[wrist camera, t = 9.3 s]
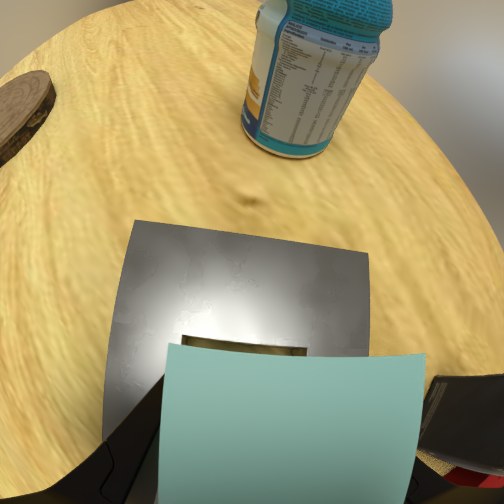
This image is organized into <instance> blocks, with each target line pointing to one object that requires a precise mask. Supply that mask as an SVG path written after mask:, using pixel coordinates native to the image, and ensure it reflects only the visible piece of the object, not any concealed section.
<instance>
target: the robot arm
mask: <svg viewBox="0 0 504 504" xmlns="http://www.w3.org/2000/svg"><path fill="white" fill-rule="evenodd" d="M164 376H165V374H163V375H162V377H161V378H160V379H159V380H158V381H157V382H156V383H155V385H154V386H153V387H152V388H151V389H150V390H149V391H148V392H147V394H146V395H145V396H144V397H143V398H142V399H141V400H140V401H139V403H138V404H137V405H136V406H135V407H134V408H133V409H132V410H131V411H130V413H129V414H128V415H127V416H126V417H125V418H124V419H123V420H122V422H121V423H120V424H119V425H118V426H117V427H116V428H115V429H114V430H113V431H112V433H111V434H110V435H109V436H108V437H107V438H106V441H105V440H104V441H103V442H102V443H101V445H100V446H99V447H98V448H97V449H96V450H95V451H94V452H93V453H92V454H91V455H90V456H89V457H88V458H87V459H86V460H84V461H83V462H82V463H81V464H80V465H79V466H77V467H76V468H75V469H73V470H72V471H71V472H70V473H68V474H67V475H66V476H64V477H63V478H62V479H61V480H59V481H58V482H57V483H55V484H54V485H52V486H51V487H49V488H47V489H45V490H42V491H39V492H35V493H31V494H26V495H21V496H16V497H11V498H4V499H0V504H154V502H155V498H156V494H157V490H158V473H159V443H160V425H161V410H162V398H163V387H164ZM403 504H504V486H502V487H500V488H485V487H469V486H459V485H456V484H453V483H451V482H449V481H447V480H446V479H445V478H443V477H442V476H441V475H439V474H438V473H437V472H435V471H434V470H433V469H431V468H430V467H429V466H427V465H426V464H425V463H424V462H422V461H421V460H420V459H419V458H418V457H417V456H416V455H415V460H414V465H413V470H412V474H411V478H410V482H409V486H408V490H407V493H406V497H405V500H404V503H403Z"/></svg>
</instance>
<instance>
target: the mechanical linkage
mask: <svg viewBox="0 0 504 504" xmlns="http://www.w3.org/2000/svg"><path fill="white" fill-rule="evenodd" d="M443 478H445V479H446V480H447V481H449V482H451V483H453V484H456V485H459V486H469V487H485V488H500V487H502V486H504V477H501V476H496V475H490V474H486V473H481V472H477V471H473V470H469V469H465V468H462V467H459V466H456V467H455V468H454V469H453V470H451V471H450V472H449V473H448V474H446V475H445V476H444V477H443Z"/></svg>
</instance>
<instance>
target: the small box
mask: <svg viewBox="0 0 504 504" xmlns="http://www.w3.org/2000/svg"><path fill="white" fill-rule="evenodd" d="M417 449H418V450H420V451H422V452H424V453H426V454H429V455H431V456H433V457H435V458H438V459H440V460H443V461H445V462H447V463H450V464H453V465H456V466H459V467H462V468H465V469H469V470H473V471H477V472H481V473H486V474H490V475H496V476H501V477H504V373H503V374H493V375H484V376H439V375H437V376H436V377H435V379H434V381H433V384H432V387H431V389H430V391H429V393H428V395H427V397H426V400H425V402H424V404H423V408H422V417H421V425H420V432H419V438H418V444H417Z"/></svg>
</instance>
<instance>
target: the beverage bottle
mask: <svg viewBox="0 0 504 504" xmlns="http://www.w3.org/2000/svg"><path fill="white" fill-rule="evenodd" d="M392 18H393V5H392V0H266V1H265V2H264V3H263V4H262V5H261V6H260V7H259V9H258V12H257V15H256V21H255V25H256V28H257V35H256V41H255V46H254V52H253V58H252V64H251V70H250V75H249V81H248V87H247V93H246V97H245V101H244V104H243V108H242V114H241V121H242V126H243V128H244V130H245V132H246V134H247V135H248V136H249V138H250V139H251V140H252V141H253V142H254V143H256V144H257V145H258V146H260V147H261V148H263V149H265V150H267V151H269V152H271V153H273V154H276V155H279V156H283V157H289V158H306V157H311V156H314V155H316V154H318V153H320V152H321V151H323V150H324V149H325V148H326V147H327V145H328V144H329V142H330V140H331V138H332V136H333V134H334V131H335V129H336V127H337V125H338V123H339V121H340V120H341V118H342V116H343V114H344V112H345V110H346V108H347V107H348V105H349V103H350V101H351V99H352V97H353V95H354V94H355V92H356V90H357V88H358V86H359V84H360V82H361V80H362V79H363V77H364V75H365V73H366V71H367V69H368V67H369V66H370V65H371V64H372V63H373V62H374V61H375V59H376V58H377V55H378V53H379V50H380V39H379V36H380V34H381V33H382V32H383V31H384V30H386V29H388V28H389V27H390V25H391V23H392Z"/></svg>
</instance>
